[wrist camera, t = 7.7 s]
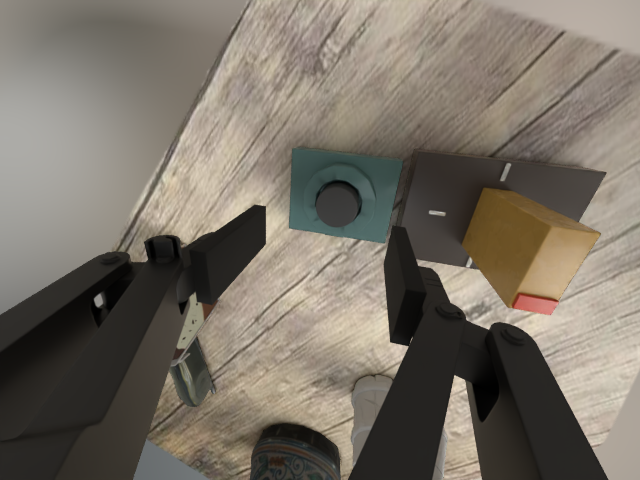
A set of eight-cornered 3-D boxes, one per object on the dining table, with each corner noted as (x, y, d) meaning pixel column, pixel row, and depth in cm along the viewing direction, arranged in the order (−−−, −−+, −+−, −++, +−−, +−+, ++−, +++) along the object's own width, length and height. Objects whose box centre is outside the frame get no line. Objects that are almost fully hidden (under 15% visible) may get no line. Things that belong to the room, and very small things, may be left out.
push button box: (400, 158, 24) (405, 164, 20) (383, 235, 27) (385, 252, 24) (298, 146, 25) (286, 150, 22) (294, 221, 29) (283, 235, 25)
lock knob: (483, 187, 21) (553, 227, 13) (513, 191, 21) (606, 235, 13) (461, 245, 24) (509, 310, 15) (488, 249, 23) (552, 318, 15)
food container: (145, 245, 34) (64, 289, 25) (178, 233, 32) (104, 275, 23) (193, 316, 38) (138, 375, 29) (225, 309, 36) (177, 369, 27)
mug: (346, 374, 37) (336, 475, 26) (431, 369, 34) (459, 483, 23) (359, 408, 40) (354, 512, 29) (439, 407, 37) (467, 524, 26)
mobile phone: (152, 346, 35) (186, 417, 41) (170, 347, 35) (203, 419, 40) (177, 322, 40) (205, 389, 45) (193, 322, 39) (220, 390, 45)
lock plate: (583, 167, 22) (609, 172, 19) (530, 267, 26) (546, 281, 23) (414, 148, 23) (419, 151, 21) (391, 244, 28) (393, 256, 25)
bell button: (361, 185, 22) (361, 190, 20) (355, 223, 24) (354, 230, 22) (321, 179, 22) (317, 184, 21) (317, 217, 24) (313, 224, 22)
